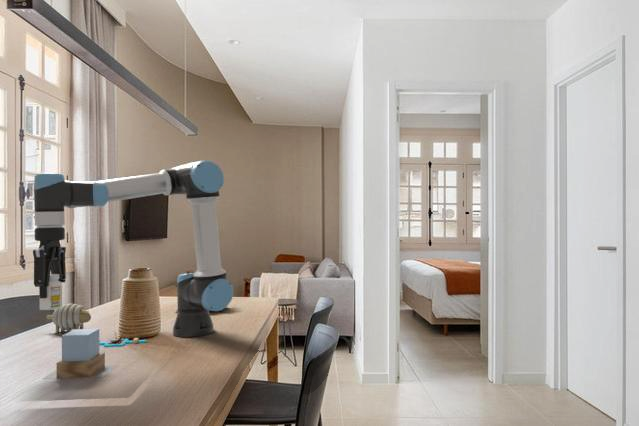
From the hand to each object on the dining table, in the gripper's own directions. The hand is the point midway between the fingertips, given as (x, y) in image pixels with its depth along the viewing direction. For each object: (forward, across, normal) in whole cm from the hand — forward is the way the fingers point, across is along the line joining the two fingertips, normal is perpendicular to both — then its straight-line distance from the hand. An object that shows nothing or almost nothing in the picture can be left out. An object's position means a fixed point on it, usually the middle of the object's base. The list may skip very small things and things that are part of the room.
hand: (51, 307), depth 133 cm
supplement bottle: (+1, 0, 0) cm, 1 cm away
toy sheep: (+19, -51, -19) cm, 58 cm away
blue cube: (+13, +5, +11) cm, 18 cm away
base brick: (+17, +5, +11) cm, 21 cm away
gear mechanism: (+20, -31, +7) cm, 37 cm away
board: (+19, +5, +11) cm, 22 cm away
